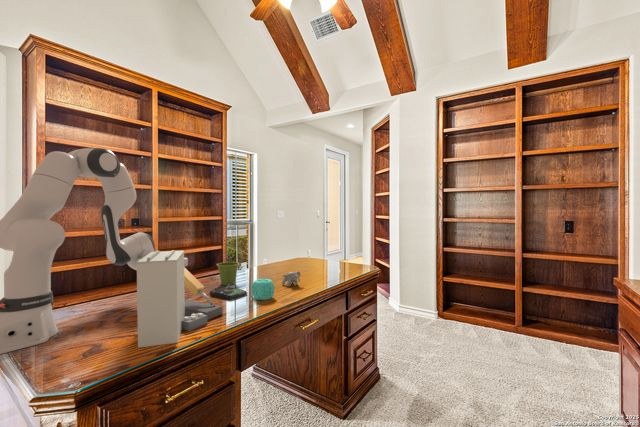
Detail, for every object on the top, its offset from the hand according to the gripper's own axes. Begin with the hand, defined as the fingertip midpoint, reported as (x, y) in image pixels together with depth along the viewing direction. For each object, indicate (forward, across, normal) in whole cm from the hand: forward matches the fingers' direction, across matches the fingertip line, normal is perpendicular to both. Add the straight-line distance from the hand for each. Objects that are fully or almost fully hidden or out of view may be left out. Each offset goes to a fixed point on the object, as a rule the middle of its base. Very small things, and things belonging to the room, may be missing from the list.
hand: (177, 266), depth 132 cm
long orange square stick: (+8, 0, -7) cm, 11 cm away
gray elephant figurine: (+26, -52, -17) cm, 60 cm away
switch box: (+24, +12, -16) cm, 32 cm away
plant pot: (-8, -39, -18) cm, 43 cm away
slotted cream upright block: (+19, +20, -16) cm, 32 cm away
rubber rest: (+14, +2, -17) cm, 22 cm away
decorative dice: (+25, -27, -17) cm, 40 cm away
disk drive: (+8, -22, -18) cm, 30 cm away
